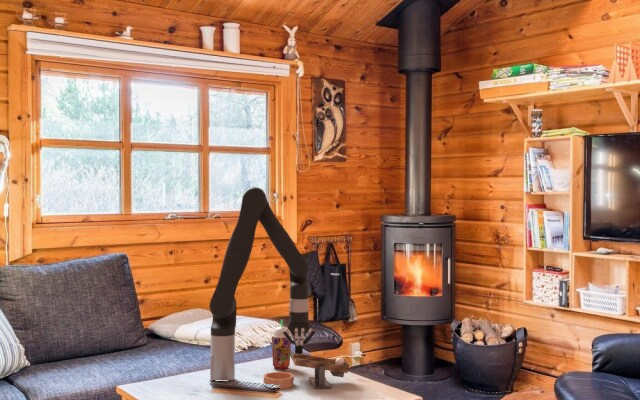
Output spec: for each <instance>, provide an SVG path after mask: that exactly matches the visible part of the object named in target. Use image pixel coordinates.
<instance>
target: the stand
mask: <svg viewBox="0 0 640 400" xmlns="http://www.w3.org/2000/svg"><path fill="white" fill-rule="evenodd" d="M308 380H309V382H310V384H311V386H312V387H313V389H314V390H322V389H323V390H326V389H327V390H328V389H329V390H330V389H331V385H330V383H329V382H328V380H327V378H326V370H325V366H319V369H315V368H314V376H309V377H308Z"/></svg>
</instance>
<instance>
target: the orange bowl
mask: <svg viewBox="0 0 640 400" xmlns="http://www.w3.org/2000/svg"><path fill="white" fill-rule="evenodd" d="M294 379H295V376H294V374H293V373H290V372H285V371H272V372H268V373H264V374H263V381H262V382H263V383H265V384H274V385H280V389H279V390H284V389H289V388H292V387H293V386H294V384H295V383H294ZM263 383H262V384H263Z"/></svg>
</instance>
